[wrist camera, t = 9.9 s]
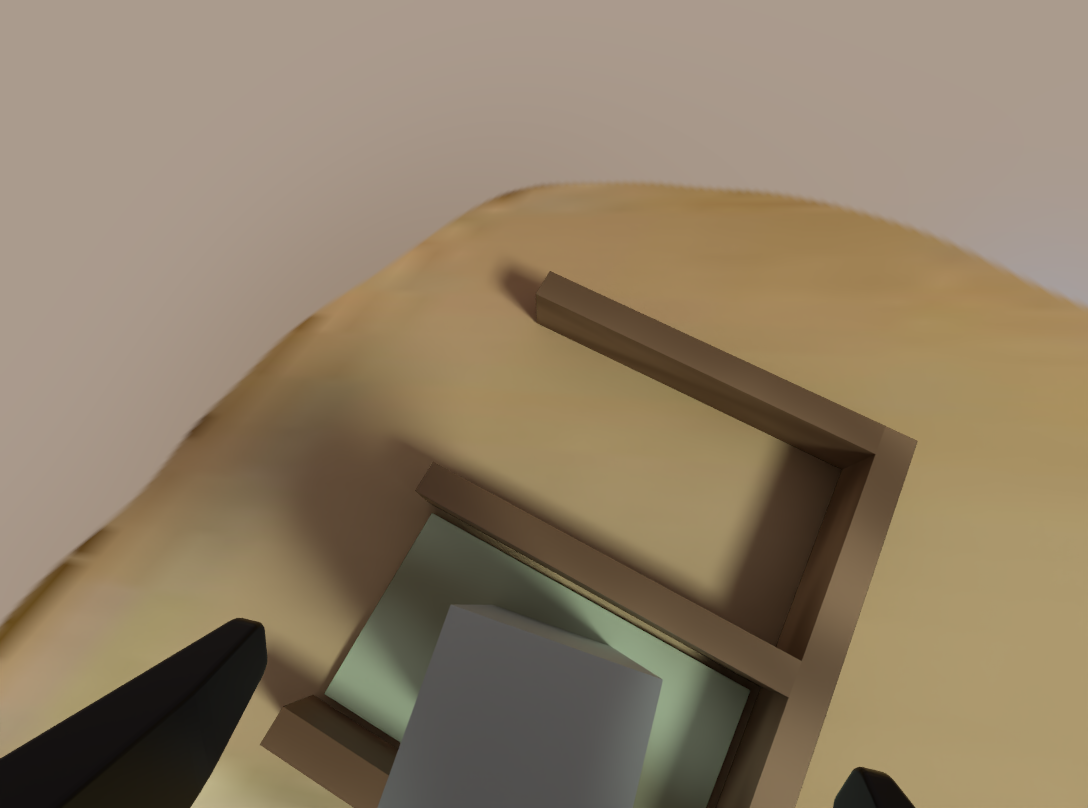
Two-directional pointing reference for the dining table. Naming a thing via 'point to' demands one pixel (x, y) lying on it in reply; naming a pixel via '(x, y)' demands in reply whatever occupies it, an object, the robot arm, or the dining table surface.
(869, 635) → the dining table surface
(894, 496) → the comb rack
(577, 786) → the tall grey square prism
